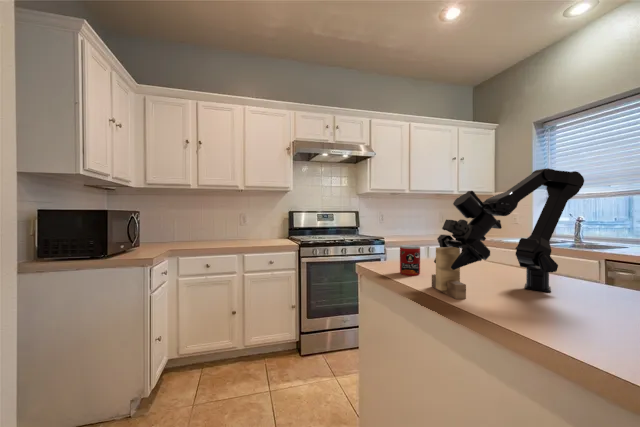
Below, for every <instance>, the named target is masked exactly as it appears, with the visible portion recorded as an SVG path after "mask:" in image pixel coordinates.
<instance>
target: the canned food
mask: <svg viewBox="0 0 640 427" xmlns="http://www.w3.org/2000/svg"><path fill="white" fill-rule="evenodd" d="M399 272H400V274H401V275H403V276H408V277H409V276H410V277H412V276H413V277H414V276H415V277H416V276H419V275H420V274H421V246H420V245H418V244H417V245H416V244H402V245H401V244H400V245H399Z"/></svg>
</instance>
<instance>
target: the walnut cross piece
mask: <svg viewBox="0 0 640 427" xmlns="http://www.w3.org/2000/svg"><path fill="white" fill-rule="evenodd" d="M431 288H434V289H436V291H439V292H441V293H443V294H445V295H447V296H449V297H451V298H453V299H455V300H466V299H467V284H465V283H462V282H461V281H460V282H458V281H447V291H441V290H439V289H437V288H436V273H435V274H434V273H433V274H432V273H431Z"/></svg>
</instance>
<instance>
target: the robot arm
mask: <svg viewBox="0 0 640 427" xmlns="http://www.w3.org/2000/svg"><path fill="white" fill-rule="evenodd" d="M584 178H585V177H584V176H583V175H582V174H581V173H580V172H579V171H566V170H558V169H553V168H548V167H547V168H541V169H536V170H534V171H533V172H531V173H530V174H529V175H528V176H526V177H525V178H524V179H522V180H520V181H519V182H518V183H516V184H514V186H512V187H511V188H509V189H508V190H506V191H503V192H502V193H498V194H495V195H493V196H491V197H489V198H487V199H485V200H484V201H482V200H481V199H480V198H479V197H478V196H477V194H476V193H475V191H474V190H468V191H467V192H465V193H464V194H461V195H459V197H456V199H454V201H453V203H452V205H453V206H454V207H455V208H456V209H457V210H458V211H459V213H460V214H461V215H462V216H463V217H464V218H465V219H471V220H470V221H469V223H468V220H465V219H459V220H453V219H445V221H444V223H443V225H442V228H441V229H442V230H443V231H447V232H449V233H451V235H450V234H440V235H439V236H438V237H437V238H436V239H437V242H438V244H439V247H456V248H460V249H461V251H460V255H459V256H458V257H457V259H456V260H455V261H454V263H453V264H452V266H451V268H452V269H453V270H455V269H458V268H460V269H461V268H463V267H465V266H467V265H471V264H474V263H477V262H481V261H482V260H484V261H486V260H488V259H489V257H490V256H491V250H490V249H489V248H488V247H487V245H485V243H484V241H486V240H487V238H486V237H485V236H486V235H487V234H488V233H489V232H490V231H491V230H492V229H498V230H499V229H500V230H501V229H502V227H503V226H502V223H501V219H497V218H496V217H507V216H509V215H511V213H513V211H514V210H515V209H516V208H517V207H518V204H519V203H520V202H521V201H522V200H523V199H525V198H526V197H527V196H529V195H530V194H532V193H533V192H534V191H536V190H538V189H539V188H540V187H542V186H544V187H546V192H547V196H548V197H547V199H546V202H545V203H544V206H543V208H542V210H541V211H540V214H539V216H538V219H537V221H536V223H535V225H534V227H533V229H532V232H531V233H530V235H529V236H527V238H525V237H520V239H519V240H518V244H517V246H516V247H515V248H514V249H515V256H516V260H517V261H518V264H519V267H520V268H525V269H526V274H525V275H526V278H525V279H526V280H525V282H526V283H525V284H524V289H525V290H530V291H539V292H547V293H552V287H551V286H550V273H556V272H557V271H558V268H559V264H558V263H557V262H556V261H555V260H554V259H553V258H552V257H551V254H552V246H551V243H550V240H552V236H553V234H554V232H555V230H556V227H557V225H558V223H559V222H560V218H561V217H562V214H563V212H564V210H565V207H566V206H567V203H568V201H570V200H571V199H572V198H573V197H575V196H576V195H578V194H579V192H580V191H581V189H582V187H583V186H584V184H585V179H584ZM433 262H434V263H435V265H436V257H435V258H434V261H433Z"/></svg>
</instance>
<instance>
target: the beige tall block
mask: <svg viewBox="0 0 640 427" xmlns="http://www.w3.org/2000/svg"><path fill="white" fill-rule="evenodd" d="M460 253H461V248H456V247H440V246H437V247H435V258H436V264H435V274H436V288H437V289H439V290H441V291H447V281H458V282H461V267H460V268H458V269H455V270H453V269H452V268H451V266H452V264H453V263H454V261H455V260H456V259H457V257H458V256H459V255H460ZM437 289H436V290H437ZM439 290H438V291H439ZM441 291H440V292H441Z"/></svg>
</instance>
